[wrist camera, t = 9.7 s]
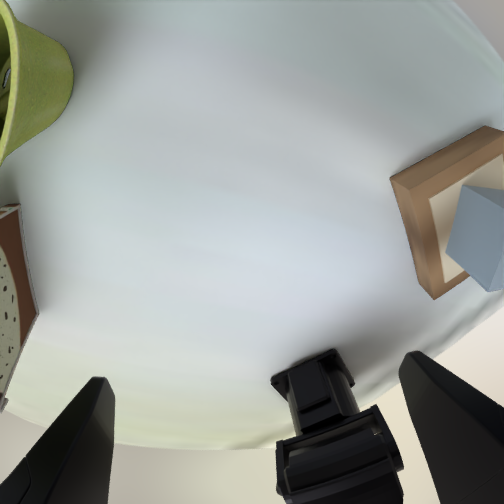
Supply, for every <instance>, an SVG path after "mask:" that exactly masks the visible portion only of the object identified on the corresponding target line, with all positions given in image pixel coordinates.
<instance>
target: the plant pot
mask: <svg viewBox="0 0 504 504" xmlns="http://www.w3.org/2000/svg"><path fill="white" fill-rule="evenodd" d="M9 68H10V69H11V71H10V73H9V77H8V79H7V82H6V87H5V88H4V89H3V87H2V85H3V81H4V76H5V74H6V72H7V70H8V69H9ZM73 80H74V72H73V68H72V65H71V62H70V59H69V56H68V54H67V51H66V49H65V48H64V47H63V46H62V45H61V44H60V43H58V42H57V41H55V40H53V39H51V38H49V37H47V36H45V35H44V34H42V33H40V32H38V31H36V30H34V29H33V28H31V27H29V26H27V25H25V24H23V23H21V22H19V21H18V20H17V19H16V17H15V16H14V14H13V12H12V9H11V8H10V6H9V4H8V3H7V2H6V1H5V0H0V166H1V165H2V162H3V160H4V159H5V158H6V156H8V155H9V154H10V153H11V152H13V151H14V150H15V149H17V148H18V147H19V146H21V145H22V144H24V143H25V142H26V141H28V140H29V139H31V138H32V137H34V136H36V135H37V134H39V133H40V132H42V131H43V130H45V129H46V128H47V127H49V126H50V125H51V124H52V123H53V122H55V121H56V120H57V118H58V117H59V116H60V115H61V113H62V112H63V110H64V109H65V107H66V105H67V103H68V100H69V98H70V95H71V91H72V87H73Z"/></svg>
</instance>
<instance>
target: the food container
mask: <svg viewBox="0 0 504 504" xmlns="http://www.w3.org/2000/svg"><path fill="white" fill-rule="evenodd" d="M38 315H39V312H38V307H37V303H36V299H35V295H34V290H33V286H32V281H31V276H30V270H29V265H28V259H27V253H26V247H25V240H24V232H23V224H22V215H21V205H20V204H8V205H6V206H4V207H1V208H0V413H2V411H3V410H4V408H5V406H6V404H7V403H8V401H9V400H8V399H7V398H5V395H6V392H7V389H8V386H9V383H10V381H11V378H12V375H13V373H14V370H15V368H16V365H17V363H18V360H19V358H20V355H21V353H22V350H23V348H24V346H25V343H26V341H27V339H28V337H29V334H30V332H31V330H32V328H33V326H34V323H35V321H36V319H37V317H38Z"/></svg>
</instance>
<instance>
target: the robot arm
mask: <svg viewBox="0 0 504 504" xmlns="http://www.w3.org/2000/svg"><path fill="white" fill-rule="evenodd" d="M399 379H400V382H401V386H402V389H403V393H404V396H405V400H406V404H407V407H408V411H409V414H410V416H411V420H412V423H413V425H414V428H415V430H416V433H417V436H418V438H419V441H420V444H421V447H422V450H423V452H424V455H425V458H426V461H427V463H428V467H429V470H430V473H431V475H432V478H433V482H434V485H435V488H436V491H437V494H438V497H439V500H440V504H504V407H502V406H501V405H499V404H497V403H496V402H495V401H493V400H492V399H490V398H489V397H487V396H486V395H484V394H483V393H482V392H480V391H478V390H477V389H475V388H474V387H473V386H471V385H470V384H468V383H467V382H465V381H464V380H462V379H461V378H459V377H458V376H456V375H455V374H453V373H452V372H450V371H449V370H447V369H446V368H444V367H443V366H441V365H440V364H438V363H437V362H435V361H434V360H432V359H431V358H429V357H428V356H426V355H425V354H423V353H422V352H420V351H412V352H408V353H407V354H406V355H405V357H404V359H403V361H402V364H401V366H400V368H399ZM270 381H271V385H272V386H273V387H274V388H275V389H276V390H277V391H278V392H279V393H280V394H281V396H282V397H283V398H284V399H285V400H286V401H287V402H288V403H289V407H290V412H291V416H292V420H293V424H294V428H295V432H296V437H293V438H289V439H286V440H280V441H276V448H277V450H276V470H277V485H276V491H277V493H278V494H279V495H281V496H283V498H284V500H285V502H286V504H403V495H404V494H403V490H402V487H401V484H400V481H399V478H398V475H397V472H399V471H401V470H403V469H404V465H403V461H402V458H401V455H400V452H399V449H398V447H397V444H396V442H395V439H394V437H393V435H392V433H391V431H390V429H389V427H388V425H387V423H386V421H385V420H384V418H383V416H382V414H381V412H380V410H379V408H378V406H377V405H376V404H375V405H373V406H371V408H369V409H367V410H364V411H362V412H360V410H359V408H358V405H357V403H356V400H355V398H354V395H353V393H352V391H351V387H353V386H354V385H355V382H354V380H353V378H352V376H351V374H350V373H349V371H348V369H347V367H346V365H345V364H344V362H343V360H342V358H341V356H340V355H339V353H338V351H337V350H335V349H332V350H330V351H328V352H326V353H324V354H322V355H320V356H318V357H316V358H314V359H312V360H309V361H307V362H305V363H303V364H301V365H299V366H297V367H295V368H292V369H290V370H288V371H286V372H284V373H281V374H279V375H277V376H275V377H273V378H271V380H270ZM114 420H115V395H114V392H113V390H112V388H111V386H110V384H109V382H108V380H107V378H105V377H96V376H95V377H92V378H91V379H90V380H89V381H88V382H87V384H86V385H85V386H84V387H83V388H82V389H81V390H80V392H79V393H78V394H77V395H76V396H75V397H74V399H73V400H72V401H71V402H70V403H69V404H68V405H67V407H66V408H65V409H64V410H63V411H62V413H61V414H60V415H59V416H58V417H57V418H56V420H55V421H54V422H53V423H52V424H51V426H50V427H49V428H48V429H47V430H46V431H45V433H44V434H43V435H42V436H41V437H40V439H39V440H38V441H37V442H36V444H35V445H34V446H33V447H32V448H31V450H30V451H29V452H28V453H27V454H26V457H24V458H23V459H22V460H21V462H20V463H19V464H18V465H17V467H16V468H15V469H14V470H13V471H12V472H11V474H10V475H9V476H8V477H7V478H6V479H5V480H4V481H3V482H2V483H1V484H0V504H108V493H109V483H110V474H111V465H112V457H113V448H114ZM374 434H375V435H374Z"/></svg>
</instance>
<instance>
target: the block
mask: <svg viewBox="0 0 504 504" xmlns="http://www.w3.org/2000/svg"><path fill="white" fill-rule="evenodd" d="M445 253H446V254H447V255H448V256H450V257H451V258H452V259H453V260H454V261H455V262H456V263H457V264H458V265H460V266H461V267H462V268H463V269H464V270H465V271H466V272H467V273H468V274H469V275H470V276H471V277H472V278H473V279H475V280H476V281H477V282H478V283H479V284H480V285H481V286H482V287H483V288H484V289H485V290H486V291H487V292H491V291H496V290H501V289H504V190H499V189H492V188H485V187H477V186H469V185H462V186H461V191H460V196H459V201H458V205H457V209H456V213H455V218H454V222H453V225H452V229H451V233H450V237H449V240H448V244H447V247H446V251H445Z"/></svg>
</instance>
